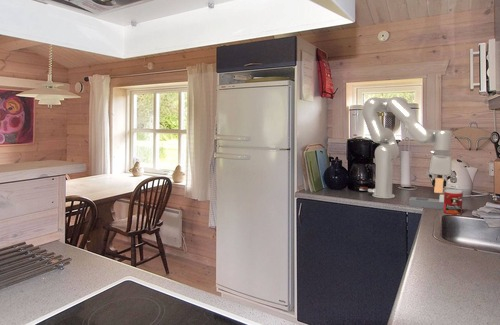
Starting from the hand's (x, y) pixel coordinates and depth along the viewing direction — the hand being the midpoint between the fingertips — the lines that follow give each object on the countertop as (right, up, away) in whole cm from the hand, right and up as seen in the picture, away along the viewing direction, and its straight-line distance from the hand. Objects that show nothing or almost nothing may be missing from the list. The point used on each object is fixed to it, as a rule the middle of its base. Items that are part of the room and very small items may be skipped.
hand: (438, 187), depth 183 cm
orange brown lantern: (0, -3, 0) cm, 3 cm away
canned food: (-3, -12, -18) cm, 22 cm away
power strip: (-7, -10, -4) cm, 13 cm away
